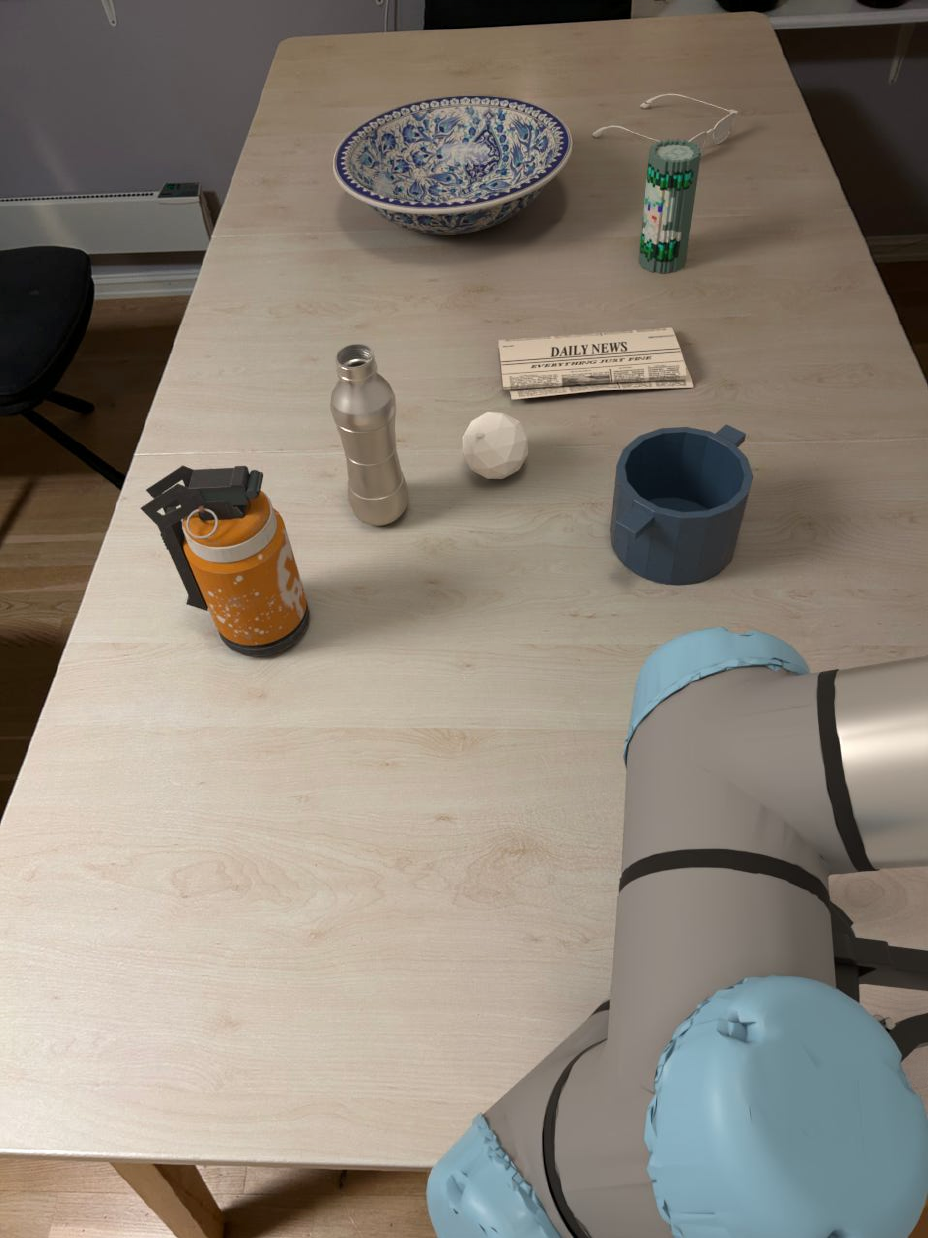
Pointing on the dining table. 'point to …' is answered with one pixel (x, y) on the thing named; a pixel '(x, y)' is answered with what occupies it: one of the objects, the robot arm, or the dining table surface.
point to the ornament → (495, 445)
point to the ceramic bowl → (453, 161)
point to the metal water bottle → (368, 437)
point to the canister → (232, 556)
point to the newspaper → (593, 363)
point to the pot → (680, 503)
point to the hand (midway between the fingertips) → (921, 794)
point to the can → (668, 205)
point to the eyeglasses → (698, 139)
